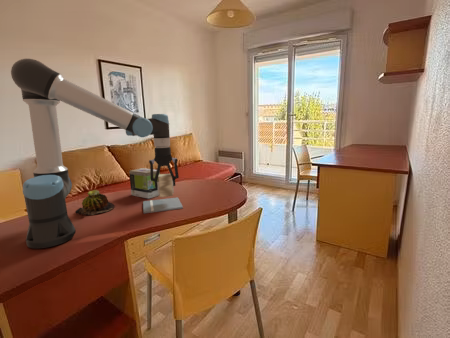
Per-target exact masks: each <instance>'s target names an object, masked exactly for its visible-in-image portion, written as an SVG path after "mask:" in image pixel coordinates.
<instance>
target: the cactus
mask: <svg viewBox="0 0 450 338" xmlns="http://www.w3.org/2000/svg"><path fill="white" fill-rule="evenodd" d="M87 195H88V196H85V198H83V199H82V202H81V205H82V207H79V208H77V209H76V210H75V211H74V212H75V214H78V215H83V216H85V215H86V216H87V215H88V216H93V215H94V216H95V215H98V214H101V213H106V212H109V211H111V210H113V209H114V208H115V204H114V203H112V202H110V201H109V200H108V197H107V195H105V194H104V193H101V192H100V191H99V190H97V189H92V190H89V191H88V193H87Z"/></svg>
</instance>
